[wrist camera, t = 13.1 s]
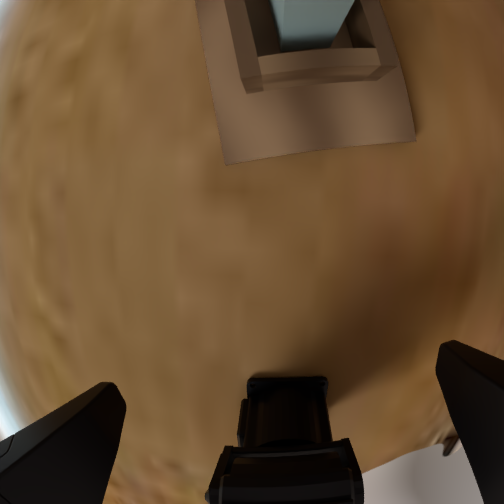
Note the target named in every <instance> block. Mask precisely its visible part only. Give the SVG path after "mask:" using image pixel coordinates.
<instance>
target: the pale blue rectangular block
mask: <svg viewBox="0 0 504 504" xmlns="http://www.w3.org/2000/svg"><path fill="white" fill-rule="evenodd" d="M354 1H355V0H268V3H269V6H270V10H271V14H272V18H273V22H274V26H275V30H276V34H277V38H278V42H279V46H280V50H281V52H284V51H293V50H303V49H316V48H330V46H331V44H332V42H333V40H334V38H335V36H336V34H337V33H338V31H339V29H340V27H341V25H342V23H343V21H344V19H345V17H346V16H347V14H348V12H349V10H350V8H351V6H352V4H353V2H354Z"/></svg>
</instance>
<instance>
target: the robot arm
mask: <svg viewBox="0 0 504 504" xmlns="http://www.w3.org/2000/svg"><path fill="white" fill-rule="evenodd" d="M436 376H437V379H438V381H439V384H440V387H441V390H442V393H443V396H444V399H445V402H446V405H447V408H448V411H449V414H450V417H451V419H452V422H453V424H454V427H455V429H456V431H457V433H458V436H459V438H460V440H461V443H462V445H463V447H464V450H465V453H466V455H467V458H468V460H469V463H470V465H471V468H472V470H473V473H474V476H475V479H476V481H477V484H478V487H479V490H480V493H481V496H482V499H483V502H484V504H504V360H501V359H499V358H497V357H494V356H492V355H489V354H487V353H485V352H482V351H480V350H478V349H475V348H473V347H470V346H468V345H466V344H463V343H461V342H458V341H456V340H451V341H448V342H445V343H442V344H441V345H440V348H439V352H438V358H437V363H436ZM320 382H323V383H320ZM252 384H255V385H252ZM327 389H328V380H327V378H326V377H323V376H321V377H300V378H250V379H249V380H248V381H247V398H248V399H243V400H242V402H241V409H240V416H239V423H238V430H237V439H238V446H239V447H233V446H225V447H224V450H223V453H222V454H221V455H220V458H219V460H218V463H217V466H216V469H215V471H214V474H213V477H212V479H211V482H210V485H209V489H208V490H207V491H206V493H205V500H206V501H207V502H208V503H209V504H364V486H363V479H362V474H361V470H360V468H359V465H358V462H357V459H356V457H355V454H354V451H353V448H352V446H351V443H350V440H349V438H344V439H341V440H338V441H333V439H332V433H331V427H330V421H329V415H328V410H327V404H326V395H327ZM125 414H126V403H125V400H124V399H123V397H122V395H121V393H120V391H119V390H118V388H117V386H116V385H115V384H114V383H112V382H100V383H99V384H97V385H95V386H94V387H92V388H90V389H89V390H87V391H86V392H84V393H82V394H81V395H79V396H77V397H76V398H74V399H72V400H71V401H69V402H68V403H66V404H64V405H63V406H61V407H59V408H58V409H56V410H54V411H53V412H51V413H49V414H47V415H46V416H44V417H42V418H41V419H39V420H37V421H36V422H34V423H32V424H30V425H29V426H27V427H25V428H24V429H22V430H20V431H18V432H17V433H15V435H14V434H13V435H11V436H10V437H8V438H6V439H4V440H2V441H1V442H0V504H102V503H103V499H104V495H105V492H106V488H107V485H108V481H109V478H110V475H111V471H112V468H113V465H114V461H115V458H116V455H117V451H118V447H119V442H120V437H121V432H122V428H123V423H124V418H125Z"/></svg>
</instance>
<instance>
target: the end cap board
mask: <svg viewBox="0 0 504 504" xmlns="http://www.w3.org/2000/svg"><path fill="white" fill-rule="evenodd" d="M195 3H196V9H197V15H198V20H199V26H200V31H201V37H202V43H203V48H204V54H205V59H206V65H207V70H208V76H209V81H210V87H211V92H212V97H213V103H214V108H215V114H216V119H217V124H218V130H219V135H220V140H221V145H222V151H223V156H224V161H225V165H230V164H235V163H241V162H246V161H252V160H257V159H263V158H269V157H275V156H282V155H288V154H295V153H302V152H309V151H317V150H325V149H333V148H342V147H351V146H361V145H373V144H385V143H400V142H415V141H416V135H415V129H414V123H413V118H412V113H411V107H410V103H409V98H408V93H407V89H406V85H405V81H404V77H403V73H402V69H401V65H400V61H399V58H398V54H397V51H396V48H395V44H394V41H393V38H392V35H391V32H390V29H389V26H388V23H387V20H386V17H385V15H384V12H383V9H382V7H381V4H380V2H379V0H355V1H354V2H353V4H352V6H351V8H350V10H349V12H348V14H347V16H346V17H345V19H344V21H343V23H342V25H341V27H340V29H339V31H338V33H337V34H336V36H335V38H334V40H333V42H332V44H331V46H330V48H316V49H303V50H293V51H284V52H281V50H280V46H279V42H278V38H277V34H276V30H275V26H274V22H273V18H272V14H271V10H270V6H269V3H268V0H195Z"/></svg>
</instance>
